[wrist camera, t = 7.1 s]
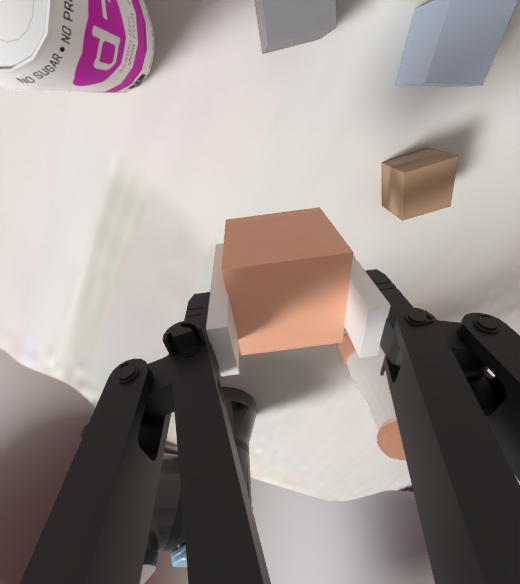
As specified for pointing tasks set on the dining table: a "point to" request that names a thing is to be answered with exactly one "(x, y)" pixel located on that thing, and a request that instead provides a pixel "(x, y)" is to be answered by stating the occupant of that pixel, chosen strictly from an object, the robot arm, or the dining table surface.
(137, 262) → the dining table surface
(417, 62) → the slate blue cube
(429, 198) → the walnut cube
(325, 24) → the charcoal cube
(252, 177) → the dining table surface
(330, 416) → the dining table surface
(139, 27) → the supplement can
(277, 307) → the terracotta cube
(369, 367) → the pepper shaker
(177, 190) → the dining table surface
